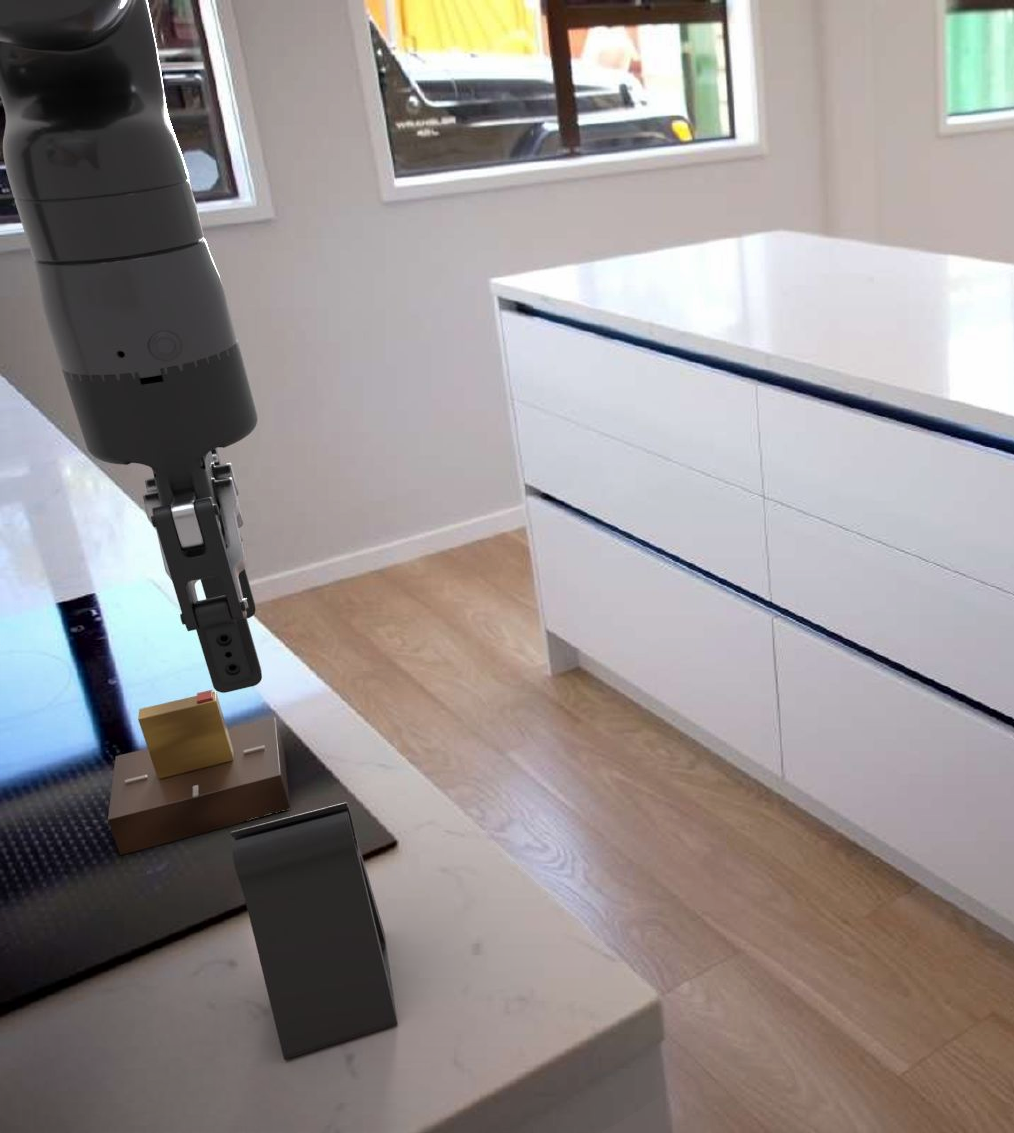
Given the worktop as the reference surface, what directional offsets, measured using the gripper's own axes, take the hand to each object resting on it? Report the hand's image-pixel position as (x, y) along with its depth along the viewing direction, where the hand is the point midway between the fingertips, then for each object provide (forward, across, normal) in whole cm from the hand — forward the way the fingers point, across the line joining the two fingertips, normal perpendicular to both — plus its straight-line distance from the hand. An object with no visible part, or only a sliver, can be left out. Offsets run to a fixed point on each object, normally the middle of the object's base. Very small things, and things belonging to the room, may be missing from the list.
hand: (237, 650), depth 67 cm
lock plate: (+22, -25, -7) cm, 34 cm away
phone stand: (+22, +2, 0) cm, 22 cm away
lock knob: (+19, -25, -7) cm, 32 cm away
